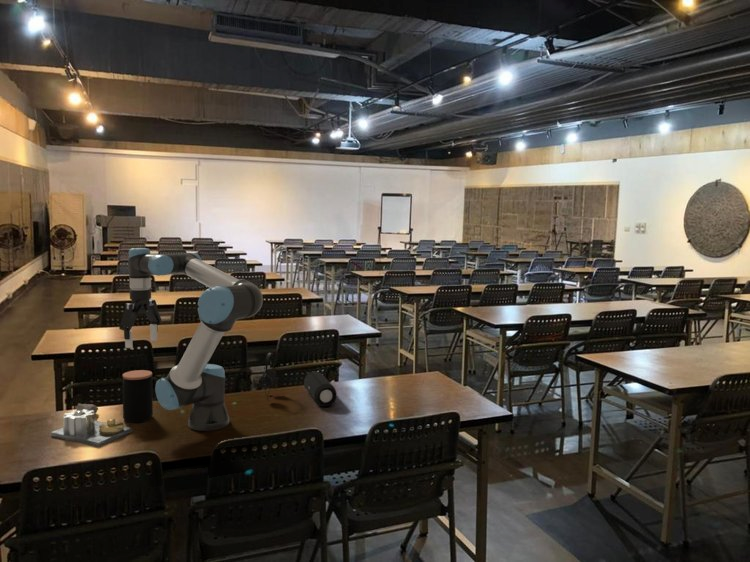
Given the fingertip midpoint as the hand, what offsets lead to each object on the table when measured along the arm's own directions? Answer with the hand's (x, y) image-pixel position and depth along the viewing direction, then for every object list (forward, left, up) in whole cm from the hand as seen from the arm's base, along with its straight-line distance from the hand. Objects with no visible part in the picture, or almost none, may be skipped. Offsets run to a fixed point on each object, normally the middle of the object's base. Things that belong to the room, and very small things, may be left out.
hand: (141, 344), depth 213 cm
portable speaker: (-49, -54, -31) cm, 79 cm away
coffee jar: (+3, -1, -30) cm, 30 cm away
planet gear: (+10, +20, -29) cm, 36 cm away
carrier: (+6, +18, -30) cm, 36 cm away
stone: (+21, +7, -31) cm, 38 cm away
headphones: (-30, -47, -30) cm, 63 cm away
